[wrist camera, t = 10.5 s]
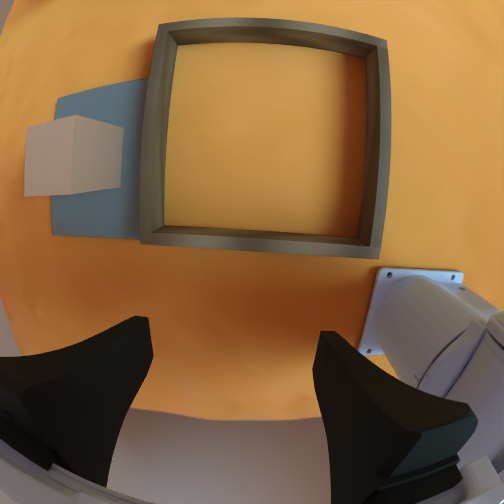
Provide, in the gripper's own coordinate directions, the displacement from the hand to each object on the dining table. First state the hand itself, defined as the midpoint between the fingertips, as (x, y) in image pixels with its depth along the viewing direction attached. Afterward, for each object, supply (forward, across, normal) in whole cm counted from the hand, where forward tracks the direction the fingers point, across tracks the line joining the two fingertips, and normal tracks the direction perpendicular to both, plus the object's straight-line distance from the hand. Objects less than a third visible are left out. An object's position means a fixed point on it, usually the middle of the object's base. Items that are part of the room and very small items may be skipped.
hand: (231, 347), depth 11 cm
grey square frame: (+9, -1, -10) cm, 14 cm away
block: (+9, +12, -8) cm, 17 cm away
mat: (+9, +12, -8) cm, 17 cm away
